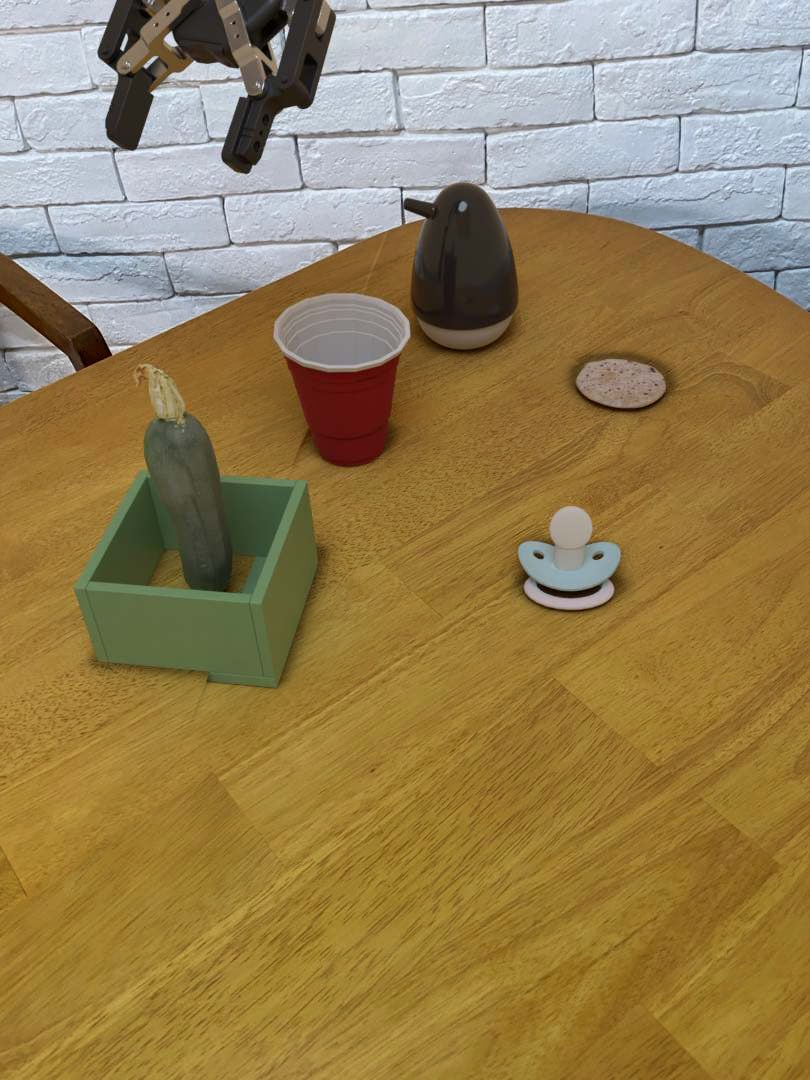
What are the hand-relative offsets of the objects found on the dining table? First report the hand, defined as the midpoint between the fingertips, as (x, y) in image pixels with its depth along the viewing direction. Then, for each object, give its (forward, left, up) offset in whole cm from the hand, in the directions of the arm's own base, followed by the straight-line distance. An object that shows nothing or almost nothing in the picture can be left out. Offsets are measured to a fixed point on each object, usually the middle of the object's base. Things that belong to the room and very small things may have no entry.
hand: (175, 156), depth 66 cm
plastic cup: (+5, +14, -31) cm, 35 cm away
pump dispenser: (+12, +33, -31) cm, 47 cm away
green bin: (-1, -7, -31) cm, 32 cm away
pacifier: (+24, -1, -31) cm, 40 cm away
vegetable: (-1, -7, -30) cm, 31 cm away
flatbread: (+27, +25, -31) cm, 48 cm away
